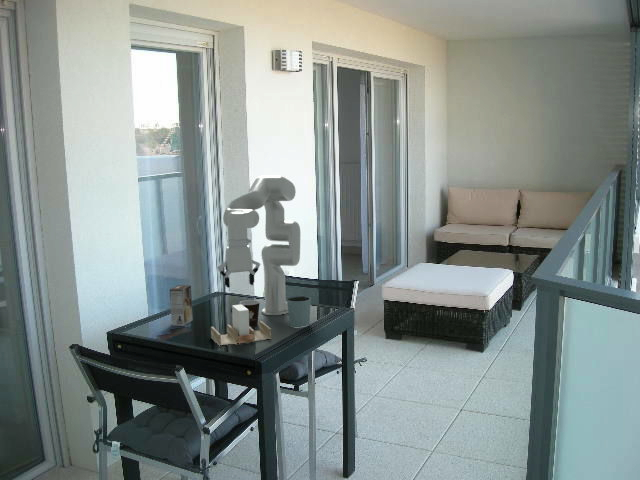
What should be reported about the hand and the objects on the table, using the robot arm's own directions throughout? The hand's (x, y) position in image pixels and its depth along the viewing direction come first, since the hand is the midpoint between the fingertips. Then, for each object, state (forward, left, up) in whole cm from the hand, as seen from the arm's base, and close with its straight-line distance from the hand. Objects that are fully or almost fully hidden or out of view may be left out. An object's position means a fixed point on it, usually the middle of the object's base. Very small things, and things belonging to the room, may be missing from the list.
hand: (239, 285), depth 274 cm
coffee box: (+17, -34, -22) cm, 44 cm away
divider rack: (0, 0, -22) cm, 22 cm away
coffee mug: (-8, -19, -22) cm, 30 cm away
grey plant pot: (-28, -8, -22) cm, 36 cm away
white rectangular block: (0, 0, -21) cm, 21 cm away
